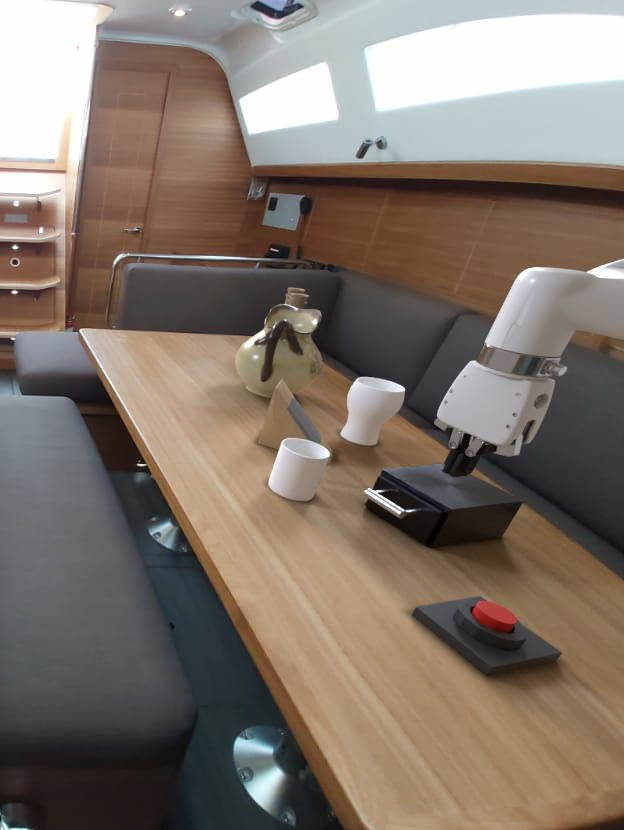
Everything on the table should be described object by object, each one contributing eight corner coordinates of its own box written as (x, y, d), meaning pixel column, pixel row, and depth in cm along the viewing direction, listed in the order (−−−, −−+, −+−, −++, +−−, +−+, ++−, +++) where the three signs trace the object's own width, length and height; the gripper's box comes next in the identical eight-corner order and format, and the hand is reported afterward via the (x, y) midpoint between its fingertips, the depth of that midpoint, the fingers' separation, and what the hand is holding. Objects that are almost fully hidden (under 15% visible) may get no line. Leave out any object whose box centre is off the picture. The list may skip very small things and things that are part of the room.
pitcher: (286, 380, 161) (310, 303, 150) (329, 411, 139) (362, 324, 129) (216, 377, 161) (236, 300, 150) (249, 407, 140) (275, 320, 129)
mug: (265, 468, 110) (279, 427, 105) (308, 478, 107) (324, 436, 102) (268, 496, 100) (283, 452, 95) (315, 508, 97) (333, 462, 92)
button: (486, 608, 70) (492, 598, 69) (518, 631, 66) (525, 621, 66) (464, 611, 69) (469, 602, 68) (495, 635, 66) (502, 625, 65)
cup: (359, 452, 118) (383, 394, 112) (322, 431, 128) (342, 377, 121) (394, 448, 121) (420, 391, 114) (355, 428, 130) (377, 375, 123)
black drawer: (399, 548, 85) (416, 515, 82) (343, 508, 96) (356, 477, 92) (488, 536, 89) (507, 504, 86) (424, 498, 99) (439, 469, 96)
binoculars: (259, 352, 187) (279, 285, 177) (289, 356, 184) (311, 288, 173) (262, 368, 170) (283, 295, 160) (295, 373, 167) (319, 299, 156)
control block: (473, 606, 75) (486, 586, 73) (553, 664, 66) (570, 643, 64) (409, 617, 73) (421, 597, 71) (484, 678, 64) (499, 657, 62)
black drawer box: (429, 550, 86) (452, 509, 83) (365, 507, 98) (382, 469, 94) (499, 541, 90) (524, 500, 86) (429, 499, 101) (448, 462, 97)
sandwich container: (331, 467, 111) (355, 407, 105) (256, 445, 119) (274, 388, 113) (334, 453, 117) (357, 395, 111) (263, 433, 126) (281, 378, 119)
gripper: (604, 379, 63) (529, 499, 71) (475, 344, 76) (424, 448, 84) (562, 382, 61) (490, 505, 69) (437, 345, 74) (389, 452, 82)
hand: (454, 473), depth 76 cm, fingers closed
